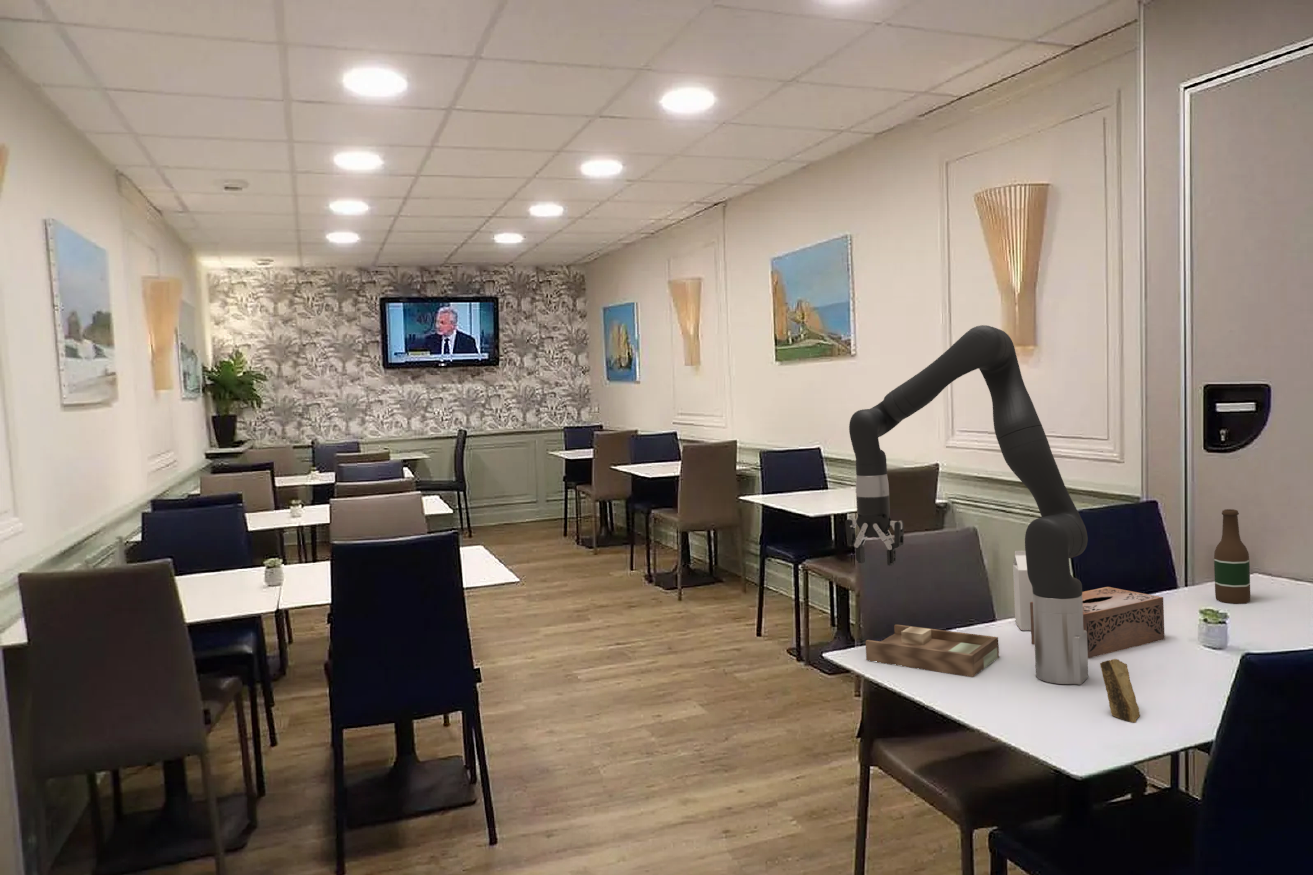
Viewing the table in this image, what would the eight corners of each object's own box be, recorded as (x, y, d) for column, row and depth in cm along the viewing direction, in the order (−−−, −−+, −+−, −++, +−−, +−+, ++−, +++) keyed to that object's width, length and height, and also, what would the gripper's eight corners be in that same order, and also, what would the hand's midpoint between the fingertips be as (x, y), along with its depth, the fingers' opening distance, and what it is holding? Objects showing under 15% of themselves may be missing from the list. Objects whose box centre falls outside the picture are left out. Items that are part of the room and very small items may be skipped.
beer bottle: (1208, 599, 234) (1205, 509, 233) (1230, 596, 237) (1227, 507, 236) (1235, 605, 227) (1232, 512, 226) (1258, 602, 229) (1255, 510, 228)
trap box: (998, 657, 196) (998, 637, 196) (972, 677, 184) (971, 655, 183) (896, 643, 211) (896, 624, 211) (866, 660, 199) (865, 640, 199)
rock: (1111, 683, 169) (1077, 686, 164) (1139, 653, 164) (1104, 656, 160) (1153, 731, 161) (1118, 736, 156) (1183, 701, 157) (1148, 705, 152)
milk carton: (1052, 631, 214) (1049, 553, 213) (1020, 631, 215) (1017, 553, 214) (1045, 623, 221) (1042, 547, 220) (1015, 623, 222) (1012, 548, 221)
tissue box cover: (1085, 660, 191) (1083, 614, 191) (1031, 645, 204) (1029, 602, 204) (1164, 640, 202) (1163, 597, 202) (1108, 627, 215) (1107, 586, 215)
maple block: (931, 639, 203) (931, 629, 203) (922, 645, 200) (922, 634, 200) (910, 637, 207) (910, 626, 207) (901, 642, 203) (901, 631, 203)
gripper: (908, 492, 206) (911, 563, 206) (851, 491, 215) (855, 559, 215) (894, 496, 200) (898, 569, 200) (837, 495, 209) (840, 564, 209)
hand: (875, 563), depth 208 cm, fingers open, 7 cm apart
